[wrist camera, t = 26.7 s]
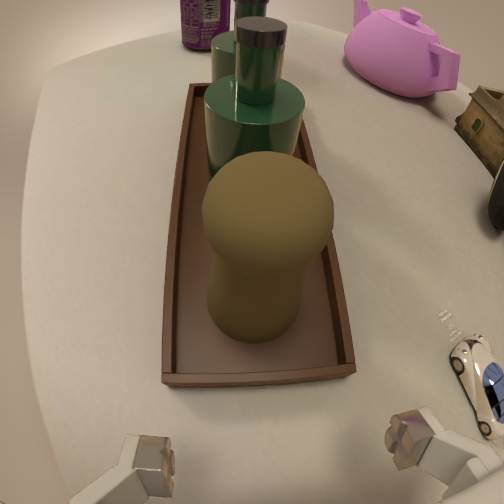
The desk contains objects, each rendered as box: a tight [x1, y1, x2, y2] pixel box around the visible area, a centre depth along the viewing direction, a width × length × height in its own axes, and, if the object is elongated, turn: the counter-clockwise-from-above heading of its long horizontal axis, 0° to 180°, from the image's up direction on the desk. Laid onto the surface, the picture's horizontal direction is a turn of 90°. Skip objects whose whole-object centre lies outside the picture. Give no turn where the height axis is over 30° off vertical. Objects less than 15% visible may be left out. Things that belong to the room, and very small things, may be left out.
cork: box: [202, 151, 334, 344], centre depth 16 cm, size 6×6×11 cm
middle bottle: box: [204, 16, 305, 183], centre depth 19 cm, size 6×6×14 cm
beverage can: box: [180, 0, 230, 50], centre depth 35 cm, size 7×7×12 cm
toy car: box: [439, 310, 504, 439], centre depth 18 cm, size 4×12×3 cm, turn 24°
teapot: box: [344, 0, 460, 98], centre depth 35 cm, size 22×16×12 cm
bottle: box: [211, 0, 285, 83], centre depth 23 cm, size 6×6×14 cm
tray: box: [162, 83, 356, 387], centre depth 25 cm, size 29×11×2 cm, turn 3°
